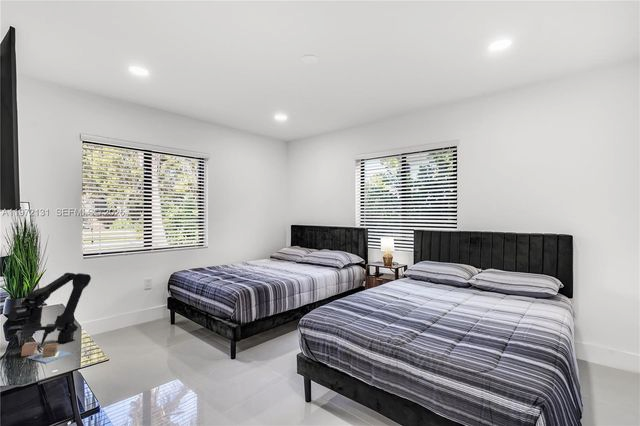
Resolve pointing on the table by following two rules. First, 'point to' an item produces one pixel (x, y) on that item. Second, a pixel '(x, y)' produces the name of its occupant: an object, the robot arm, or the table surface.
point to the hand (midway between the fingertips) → (30, 345)
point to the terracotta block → (29, 348)
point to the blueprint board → (48, 359)
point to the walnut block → (50, 350)
